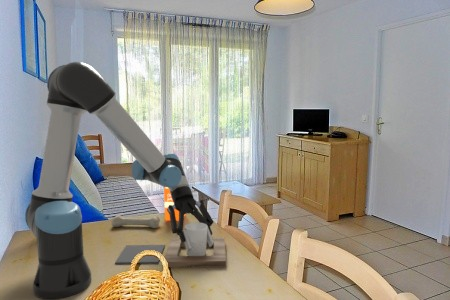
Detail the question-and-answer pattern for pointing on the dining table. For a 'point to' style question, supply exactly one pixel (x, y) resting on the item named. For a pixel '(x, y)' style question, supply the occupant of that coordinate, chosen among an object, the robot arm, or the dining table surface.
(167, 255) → the puzzle board
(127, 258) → the rubber mat
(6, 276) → the dining table surface
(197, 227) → the white cup
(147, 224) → the dog toy
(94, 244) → the dining table surface
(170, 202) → the orange juice
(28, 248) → the dining table surface
